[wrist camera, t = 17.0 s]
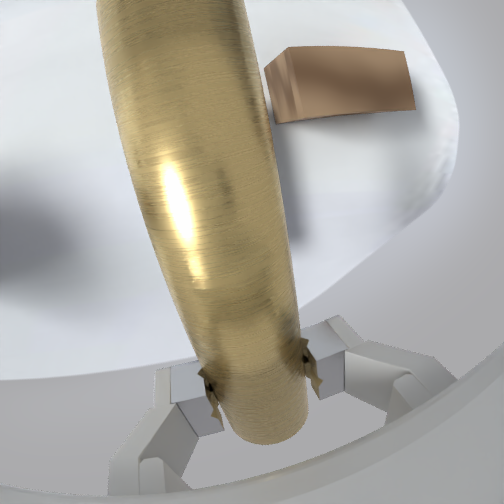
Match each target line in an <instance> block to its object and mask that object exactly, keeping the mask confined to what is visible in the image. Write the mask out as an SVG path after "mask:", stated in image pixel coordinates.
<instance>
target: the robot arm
mask: <svg viewBox="0 0 504 504" xmlns="http://www.w3.org/2000/svg"><path fill="white" fill-rule="evenodd" d="M300 331H301V339H302V348H303V358H304V367H305V375H306V377H308V378H310V379H311V385H312V388H313V389H314V391H315V393H316V394H317V396H318V398H319V400H322V399H324V398H327V397H329V396H332V395H335V394H337V393H340V392H343V391H345V392H346V393H348V394H350V395H352V396H354V397H356V398H358V399H360V400H362V401H364V402H366V403H368V404H371V405H373V406H375V407H377V408H379V409H381V410H383V411H385V412H387V417H386V421H385V425H384V426H383V427H382V428H380V429H378V430H376V431H374V432H372V433H370V434H368V435H366V436H364V437H361V438H359V439H358V440H355V441H353V442H351V443H348V444H346V445H344V446H342V447H340V448H337V449H335V450H332V451H330V452H327V453H325V454H323V455H320V456H317V457H315V458H312V459H309V460H306V461H304V462H301V463H298V464H295V465H292V466H289V467H286V468H283V469H280V470H276V471H273V472H270V473H266V474H263V475H259V476H255V477H252V478H248V479H244V480H240V481H235V482H231V483H226V484H222V485H216V486H211V487H205V488H200V489H191V488H190V487H189V486H188V485H187V484H186V483H185V482H184V481H183V480H182V479H181V477H182V475H183V473H184V470H185V468H186V466H187V464H188V462H189V459H190V457H191V455H192V453H193V450H194V448H195V446H196V444H197V442H198V440H199V438H198V437H202V436H206V435H210V434H214V433H218V432H221V431H224V427H223V422H222V417H221V414H220V412H219V410H218V405H219V403H218V400H217V398H216V396H215V394H214V392H213V390H212V388H211V385H210V383H209V381H208V379H207V377H206V375H205V373H204V371H203V369H202V366H201V364H200V362H199V360H197V361H193V362H188V363H184V364H179V365H175V366H171V367H167V368H162V369H157V370H156V372H155V379H154V408H150V409H149V410H148V411H147V412H146V413H145V415H144V416H143V418H142V419H141V420H140V422H139V423H138V424H137V425H136V427H135V428H134V430H133V431H132V432H131V433H130V435H129V436H128V437H127V439H126V440H125V441H124V443H123V444H122V445H121V447H120V448H119V449H118V451H117V452H116V453H115V454H114V456H113V457H112V458H111V460H110V464H109V478H108V479H109V480H108V496H93V495H76V494H64V493H54V492H47V491H39V490H33V489H28V488H22V487H17V486H12V485H8V484H3V483H0V504H504V342H503V343H502V344H501V345H500V346H499V347H498V348H497V349H495V350H494V351H493V352H492V353H491V354H490V355H489V356H487V357H486V358H485V359H484V360H483V361H481V362H480V363H479V364H478V365H476V366H475V367H474V368H473V369H471V370H470V371H469V372H468V373H466V374H465V375H464V376H462V377H461V378H460V379H459V380H457V379H456V378H455V377H454V376H453V375H452V374H451V373H450V372H449V371H448V370H447V369H446V368H445V367H444V366H443V365H442V364H441V363H440V362H439V361H437V360H436V359H435V358H434V357H432V356H428V355H423V354H419V353H416V352H411V351H407V350H404V349H400V348H396V347H392V346H388V345H384V344H381V343H377V342H373V341H369V340H368V341H366V342H364V341H363V339H361V337H360V336H359V335H358V334H357V333H356V332H355V331H354V330H353V329H352V327H350V325H349V324H348V323H347V322H346V321H345V320H344V319H343V318H342V317H341V316H340V315H336V316H334V317H331V318H329V319H326V320H324V321H322V322H320V323H317V324H314V325H311V326H309V327H305V328H303V329H300Z"/></svg>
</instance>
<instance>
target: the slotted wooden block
mask: <svg viewBox="0 0 504 504" xmlns="http://www.w3.org/2000/svg"><path fill="white" fill-rule="evenodd" d="M264 71H265V76H266V80H267V85H268V89H269V94H270V98H271V103H272V107H273V112H274V117H275V122H276V124H280V123H287V122H293V121H300V120H308V119H315V118H324V117H333V116H342V115H353V114H366V113H379V112H392V111H407V110H416V107H415V101H414V95H413V90H412V85H411V80H410V75H409V71H408V67H407V62H406V58H405V54H404V51H396V50H387V49H377V48H364V47H344V46H302V47H288V48H287V49H286V50H284V51H283V52H282V53H281V54H280V55H278V56H277V57H276V58H275V59H274V60H273V61H272V62H270V63H269V64H268V65H267V66H266V67H265V68H264Z"/></svg>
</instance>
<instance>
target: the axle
mask: <svg viewBox="0 0 504 504" xmlns="http://www.w3.org/2000/svg"><path fill="white" fill-rule="evenodd" d="M96 8H97V17H98V25H99V32H100V39H101V46H102V52H103V58H104V64H105V70H106V75H107V80H108V85H109V90H110V95H111V100H112V105H113V109H114V114H115V118H116V122H117V127H118V131H119V135H120V139H121V143H122V147H123V150H124V154H125V158H126V162H127V165H128V169H129V172H130V176H131V179H132V183H133V186H134V190H135V193H136V196H137V200H138V203H139V206H140V209H141V212H142V215H143V219H144V222H145V225H146V228H147V231H148V234H149V237H150V240H151V242H152V245H153V248H154V251H155V254H156V257H157V259H158V262H159V265H160V268H161V270H162V273H163V276H164V278H165V281H166V284H167V286H168V289H169V291H170V294H171V296H172V299H173V302H174V304H175V306H176V309H177V311H178V314H179V316H180V319H181V321H182V323H183V326H184V328H185V331H186V333H187V335H188V338H189V340H190V342H191V344H192V347H193V349H194V351H195V353H196V356H197V358H198V360H199V362H200V364H201V366H202V369H203V371H204V373H205V375H206V377H207V379H208V381H209V383H210V385H211V388H212V390H213V392H214V394H215V396H216V398H217V400H218V402H219V404H220V406H221V408H222V410H223V412H224V413H225V415H226V417H227V419H228V421H229V423H230V425H231V427H232V429H233V430H234V432H235V433H236V434H237V435H238V436H239V437H241V438H242V439H244V440H246V441H248V442H251V443H254V444H261V445H269V444H275V443H279V442H282V441H285V440H287V439H289V438H290V437H292V436H293V435H295V434H296V433H297V432H298V431H299V430H300V429H301V428H302V426H303V425H304V423H305V421H306V419H307V416H308V399H307V388H306V377H305V367H304V358H303V348H302V339H301V331H300V323H299V314H298V306H297V298H296V290H295V282H294V274H293V267H292V260H291V253H290V246H289V239H288V232H287V225H286V218H285V212H284V206H283V199H282V193H281V187H280V181H279V175H278V169H277V163H276V157H275V151H274V145H273V140H272V134H271V129H270V123H269V118H268V113H267V107H266V102H265V97H264V92H263V87H262V82H261V77H260V72H259V67H258V62H257V58H256V53H255V48H254V44H253V39H252V34H251V30H250V26H249V21H248V17H247V12H246V8H245V4H244V0H97V2H96Z"/></svg>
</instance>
